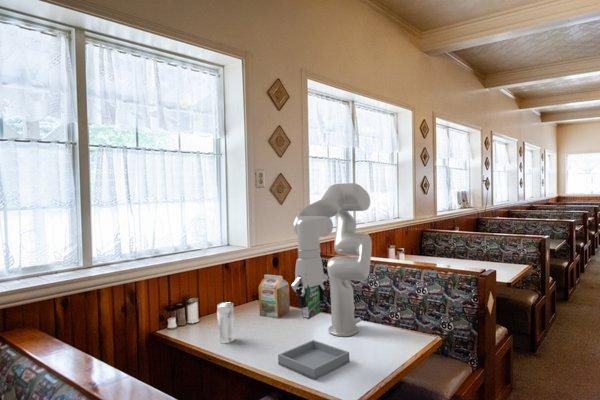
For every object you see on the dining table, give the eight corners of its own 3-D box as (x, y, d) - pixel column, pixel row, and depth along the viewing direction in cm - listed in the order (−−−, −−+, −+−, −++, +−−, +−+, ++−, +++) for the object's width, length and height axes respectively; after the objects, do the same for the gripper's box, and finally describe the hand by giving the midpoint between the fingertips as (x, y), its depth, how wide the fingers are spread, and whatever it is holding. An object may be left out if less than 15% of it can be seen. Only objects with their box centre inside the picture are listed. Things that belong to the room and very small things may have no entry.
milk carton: (290, 312, 203) (288, 273, 202) (277, 318, 194) (276, 278, 193) (272, 309, 208) (270, 272, 208) (259, 315, 199) (257, 276, 199)
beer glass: (239, 338, 171) (237, 302, 170) (229, 344, 165) (227, 307, 164) (225, 336, 174) (223, 301, 173) (215, 342, 167) (213, 306, 167)
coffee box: (309, 319, 139) (307, 281, 139) (302, 318, 141) (300, 280, 140) (321, 312, 146) (319, 276, 146) (314, 311, 148) (312, 275, 147)
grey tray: (313, 348, 157) (313, 339, 157) (349, 362, 144) (349, 352, 144) (278, 364, 145) (277, 354, 144) (314, 380, 132) (313, 369, 132)
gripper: (318, 249, 151) (320, 296, 152) (283, 256, 139) (285, 307, 140) (334, 251, 146) (336, 299, 147) (298, 259, 134) (300, 312, 135)
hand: (311, 303), depth 143 cm, fingers closed on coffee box, 8 cm apart
